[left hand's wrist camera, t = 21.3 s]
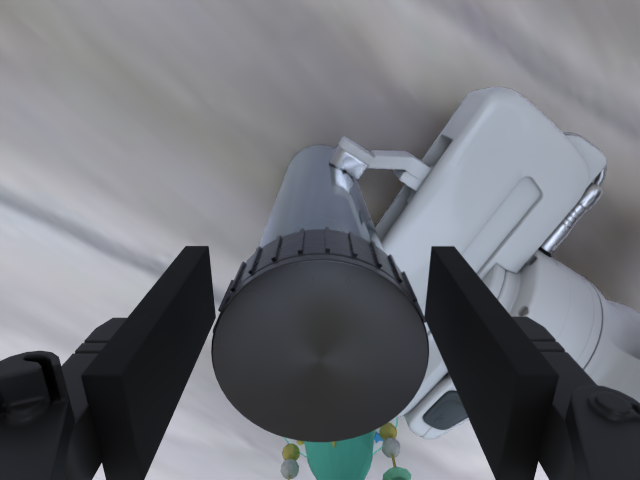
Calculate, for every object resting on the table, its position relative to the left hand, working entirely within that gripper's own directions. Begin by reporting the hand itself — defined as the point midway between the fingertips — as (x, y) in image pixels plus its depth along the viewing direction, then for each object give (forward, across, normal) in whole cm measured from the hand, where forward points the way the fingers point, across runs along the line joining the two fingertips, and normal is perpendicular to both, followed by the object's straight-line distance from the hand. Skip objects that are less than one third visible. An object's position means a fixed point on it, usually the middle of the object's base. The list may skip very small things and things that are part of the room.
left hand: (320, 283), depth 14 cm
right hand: (+10, -1, 0) cm, 10 cm away
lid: (-4, 0, 0) cm, 4 cm away
